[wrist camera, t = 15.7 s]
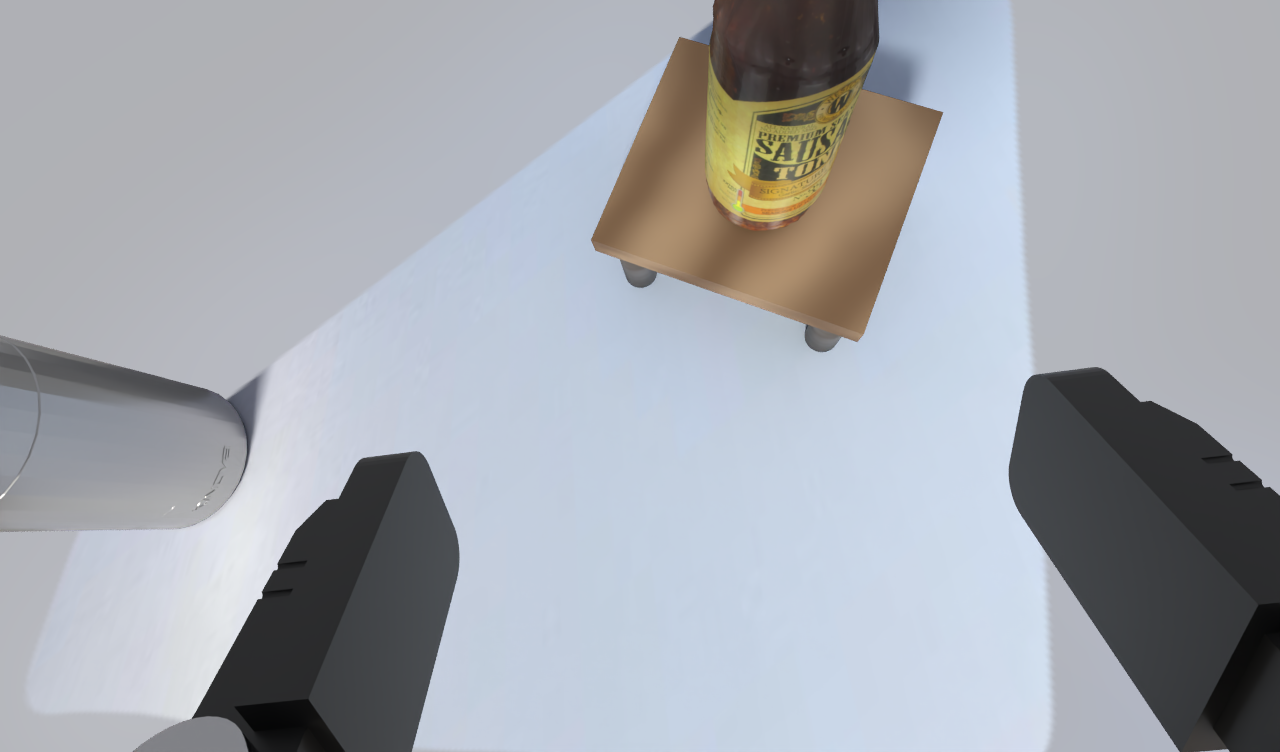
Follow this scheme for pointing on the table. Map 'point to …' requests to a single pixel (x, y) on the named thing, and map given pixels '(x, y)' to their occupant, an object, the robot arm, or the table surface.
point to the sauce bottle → (781, 101)
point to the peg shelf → (780, 258)
